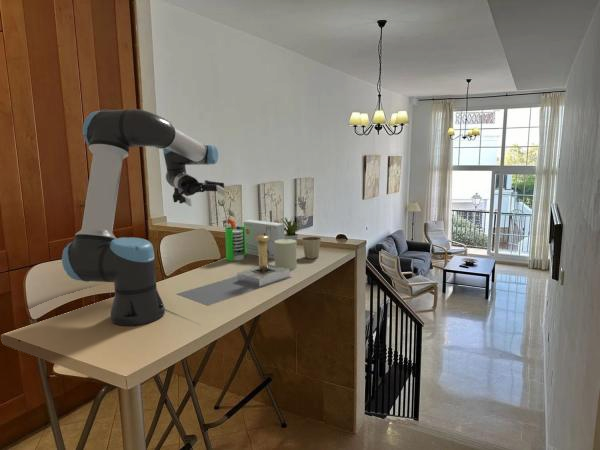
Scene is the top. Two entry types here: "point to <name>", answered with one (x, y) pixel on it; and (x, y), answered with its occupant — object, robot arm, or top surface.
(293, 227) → the house plant
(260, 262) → the pin
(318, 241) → the flower pot
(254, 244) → the skincare box
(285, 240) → the can
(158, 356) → the top surface
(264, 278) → the grey flat rectangular block
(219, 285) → the mat
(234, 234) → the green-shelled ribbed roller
